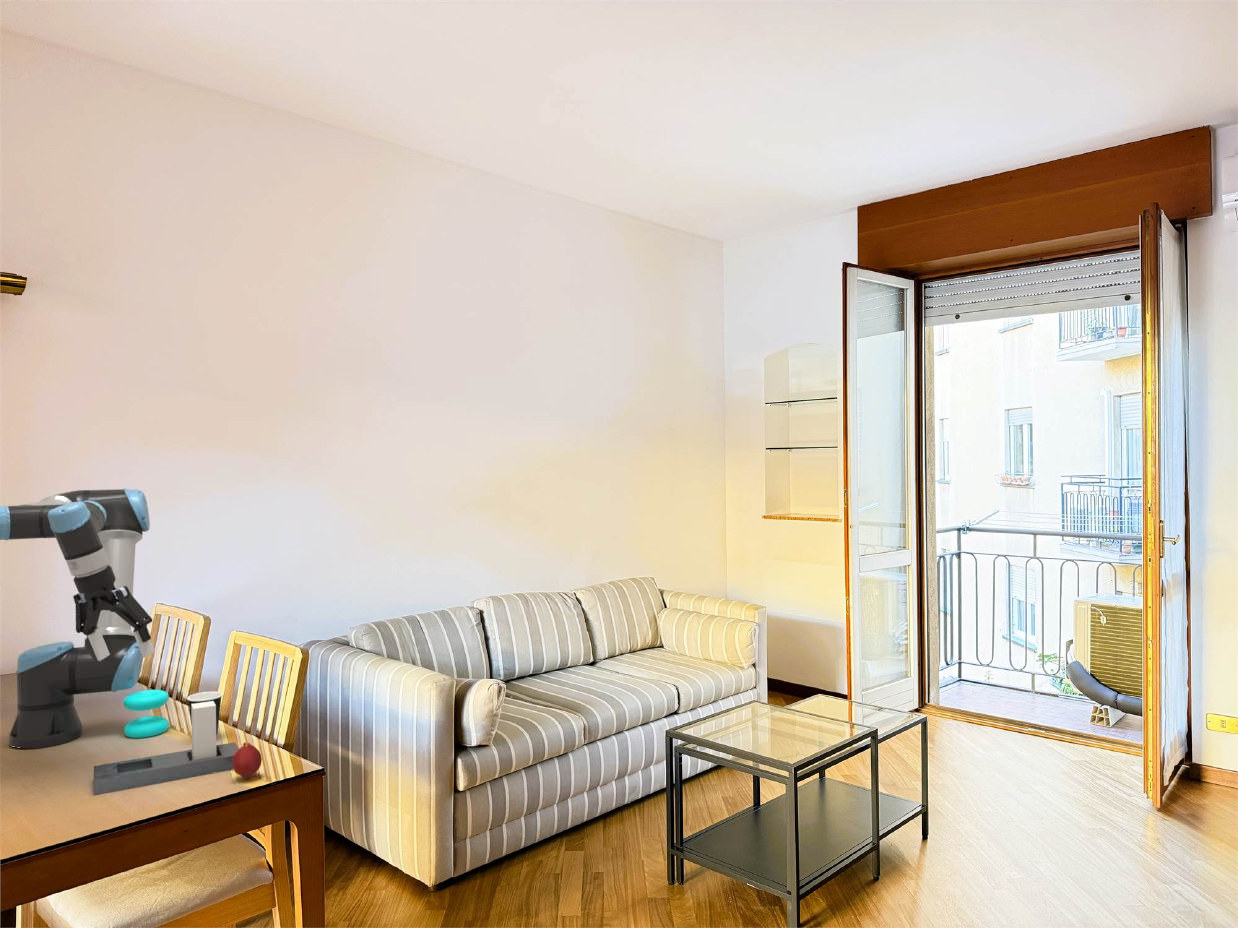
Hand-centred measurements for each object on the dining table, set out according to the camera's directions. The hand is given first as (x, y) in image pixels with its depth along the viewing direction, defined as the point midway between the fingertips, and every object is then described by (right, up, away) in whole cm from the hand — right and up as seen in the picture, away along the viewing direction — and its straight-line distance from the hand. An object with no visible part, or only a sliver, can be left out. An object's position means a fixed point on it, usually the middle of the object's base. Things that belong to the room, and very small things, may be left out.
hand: (126, 656), depth 192 cm
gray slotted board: (+13, -24, -7) cm, 29 cm away
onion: (+32, -24, -11) cm, 42 cm away
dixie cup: (+10, -24, +16) cm, 31 cm away
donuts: (-8, -25, +22) cm, 34 cm away
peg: (+19, -24, -3) cm, 31 cm away
